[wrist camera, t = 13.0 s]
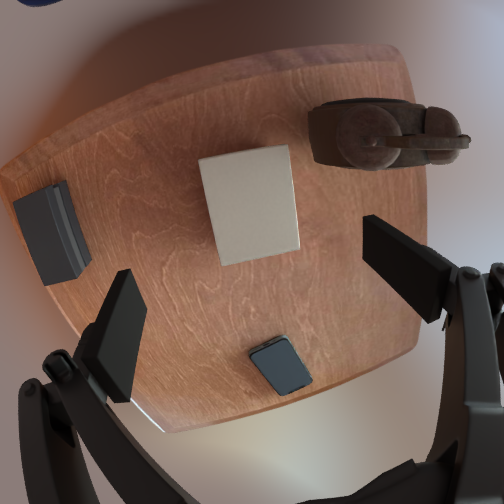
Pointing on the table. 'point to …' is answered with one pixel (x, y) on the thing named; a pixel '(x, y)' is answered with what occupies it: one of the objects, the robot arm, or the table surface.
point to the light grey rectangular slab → (251, 203)
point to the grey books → (53, 233)
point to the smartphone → (281, 365)
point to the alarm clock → (383, 134)
